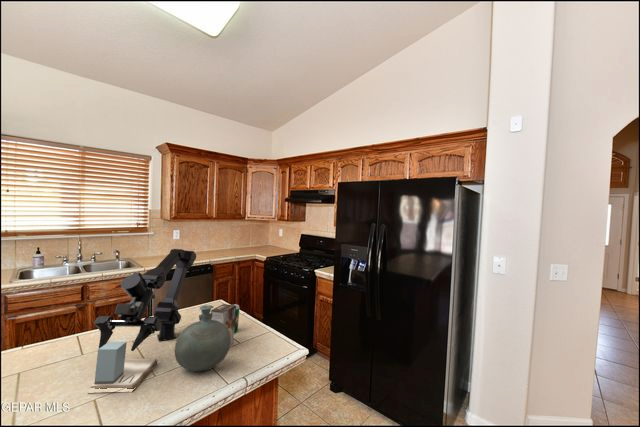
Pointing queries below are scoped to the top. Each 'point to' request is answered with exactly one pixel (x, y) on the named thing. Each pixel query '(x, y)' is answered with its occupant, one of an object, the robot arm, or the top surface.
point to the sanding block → (110, 362)
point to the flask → (203, 343)
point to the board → (131, 374)
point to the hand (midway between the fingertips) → (115, 350)
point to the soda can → (236, 318)
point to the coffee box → (225, 317)
